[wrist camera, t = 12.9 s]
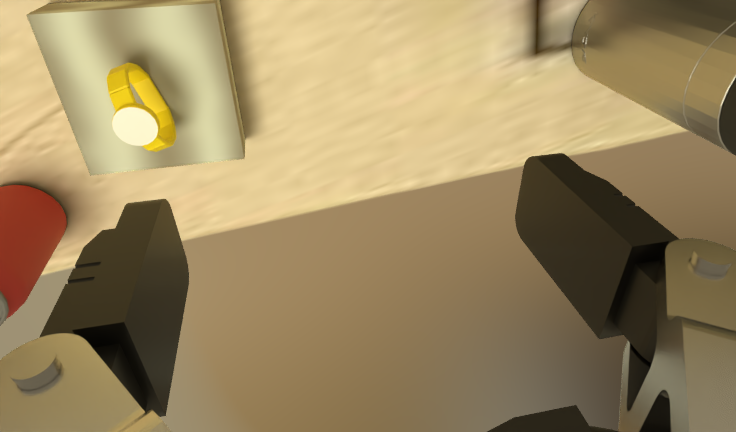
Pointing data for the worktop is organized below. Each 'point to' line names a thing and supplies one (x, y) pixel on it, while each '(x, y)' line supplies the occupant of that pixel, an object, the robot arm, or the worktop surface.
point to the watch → (139, 109)
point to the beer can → (25, 241)
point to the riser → (159, 60)
